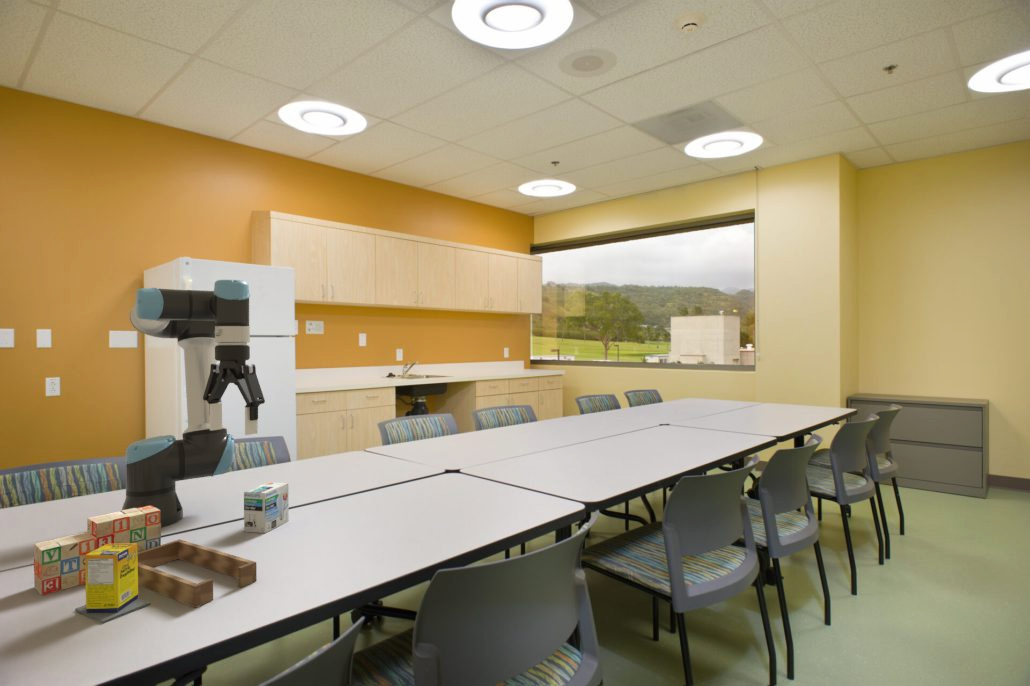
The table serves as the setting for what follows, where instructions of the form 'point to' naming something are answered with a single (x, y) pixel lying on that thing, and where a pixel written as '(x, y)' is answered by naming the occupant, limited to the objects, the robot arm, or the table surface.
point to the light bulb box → (266, 507)
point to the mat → (108, 616)
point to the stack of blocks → (92, 546)
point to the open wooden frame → (196, 555)
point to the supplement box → (111, 577)
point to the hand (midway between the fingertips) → (233, 432)
